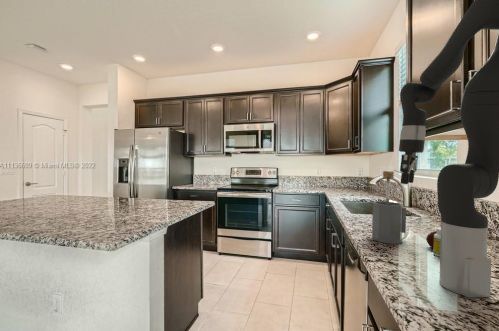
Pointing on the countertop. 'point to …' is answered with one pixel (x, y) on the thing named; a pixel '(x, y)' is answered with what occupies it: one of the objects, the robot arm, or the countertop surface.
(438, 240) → the supplement bottle
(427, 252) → the countertop surface
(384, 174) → the plunger
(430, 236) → the potato
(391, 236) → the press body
